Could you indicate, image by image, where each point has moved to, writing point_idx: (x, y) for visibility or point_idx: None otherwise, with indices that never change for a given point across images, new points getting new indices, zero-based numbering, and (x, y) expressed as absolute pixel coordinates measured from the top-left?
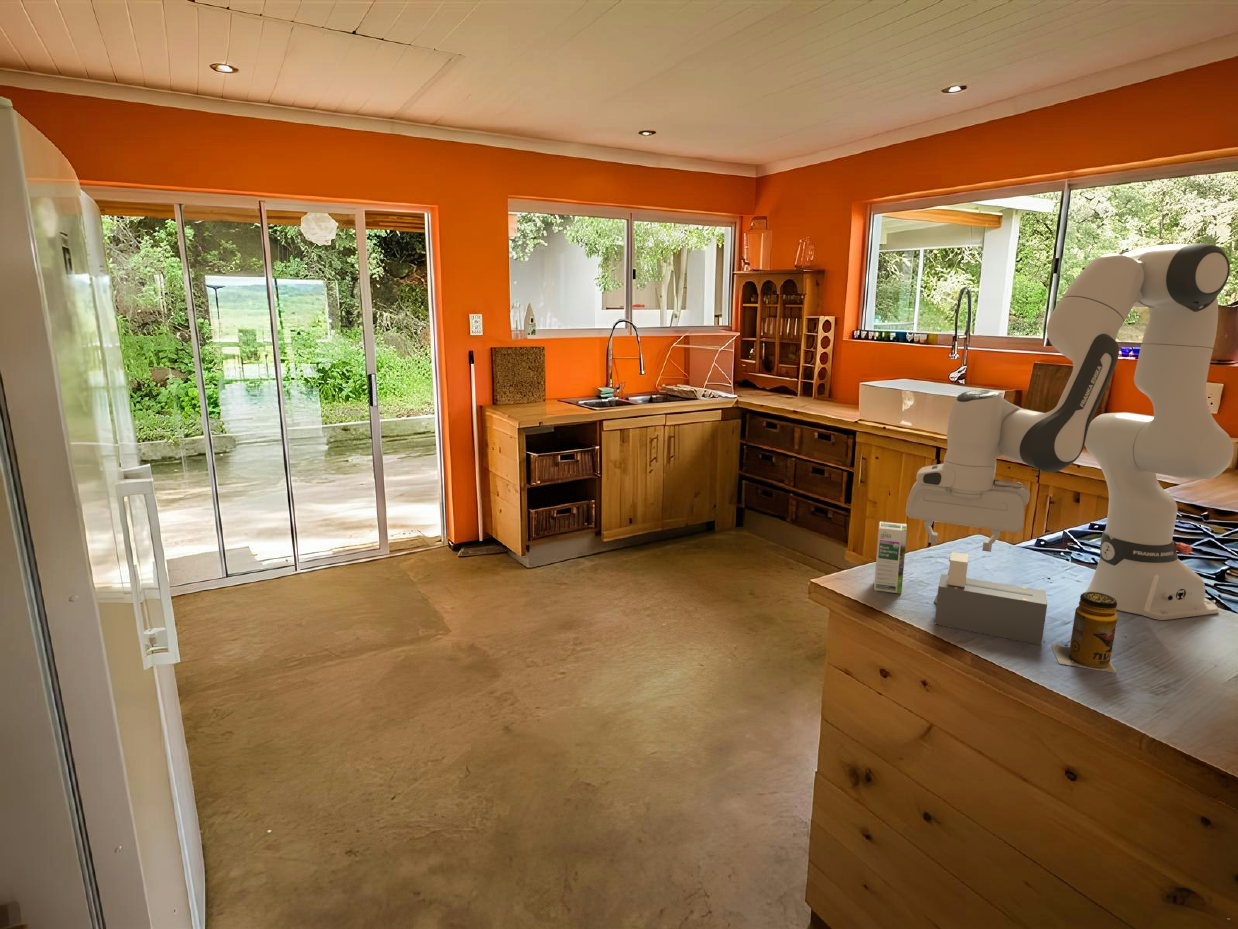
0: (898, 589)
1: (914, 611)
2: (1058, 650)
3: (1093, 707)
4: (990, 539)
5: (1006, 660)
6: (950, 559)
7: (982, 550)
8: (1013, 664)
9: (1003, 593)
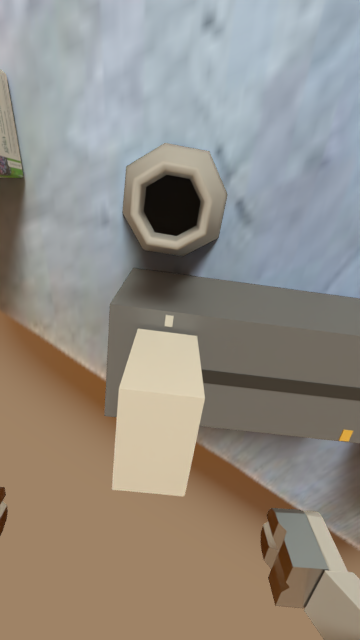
0: (7, 176)
1: (77, 292)
2: None
3: (329, 525)
4: (331, 622)
5: (246, 447)
6: (113, 484)
7: (261, 533)
8: (255, 456)
9: (296, 411)
